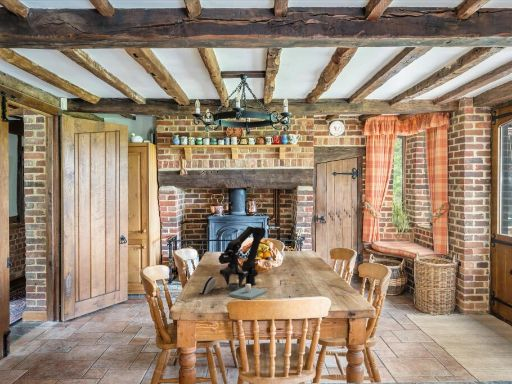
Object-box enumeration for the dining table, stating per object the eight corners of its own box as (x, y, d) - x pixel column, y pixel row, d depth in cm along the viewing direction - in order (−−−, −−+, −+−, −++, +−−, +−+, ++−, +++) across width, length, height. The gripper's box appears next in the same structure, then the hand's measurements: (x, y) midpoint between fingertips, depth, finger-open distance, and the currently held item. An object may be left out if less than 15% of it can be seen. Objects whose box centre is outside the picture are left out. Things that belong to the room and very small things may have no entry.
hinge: (206, 287, 265) (211, 273, 264) (212, 290, 264) (217, 275, 264) (197, 294, 249) (202, 279, 248) (204, 297, 248) (210, 282, 247)
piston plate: (245, 289, 260) (245, 279, 259) (266, 292, 251) (266, 283, 251) (228, 295, 244) (228, 286, 244) (250, 300, 236) (250, 289, 236)
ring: (232, 286, 266) (232, 282, 266) (241, 288, 262) (241, 283, 262) (225, 289, 260) (225, 284, 260) (235, 290, 256) (234, 286, 256)
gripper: (214, 262, 259) (214, 286, 259) (238, 265, 249) (238, 291, 249) (224, 259, 268) (224, 283, 268) (248, 262, 258) (248, 287, 258)
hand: (233, 286), depth 261 cm, fingers open, 9 cm apart
